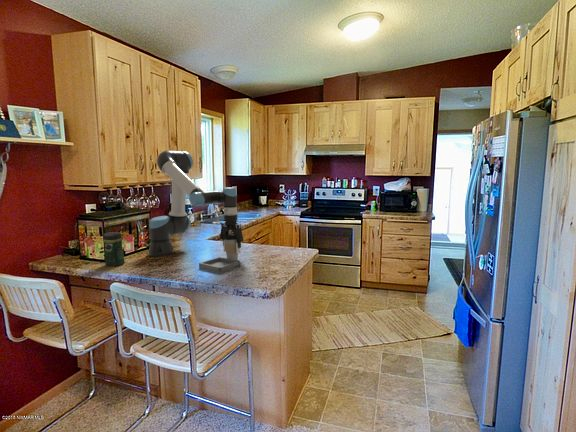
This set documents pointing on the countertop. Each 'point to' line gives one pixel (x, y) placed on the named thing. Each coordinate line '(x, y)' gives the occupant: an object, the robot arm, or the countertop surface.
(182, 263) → the countertop surface
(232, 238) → the coffee cup
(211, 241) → the countertop surface
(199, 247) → the countertop surface
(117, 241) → the coffee jar
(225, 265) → the tray
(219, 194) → the robot arm
